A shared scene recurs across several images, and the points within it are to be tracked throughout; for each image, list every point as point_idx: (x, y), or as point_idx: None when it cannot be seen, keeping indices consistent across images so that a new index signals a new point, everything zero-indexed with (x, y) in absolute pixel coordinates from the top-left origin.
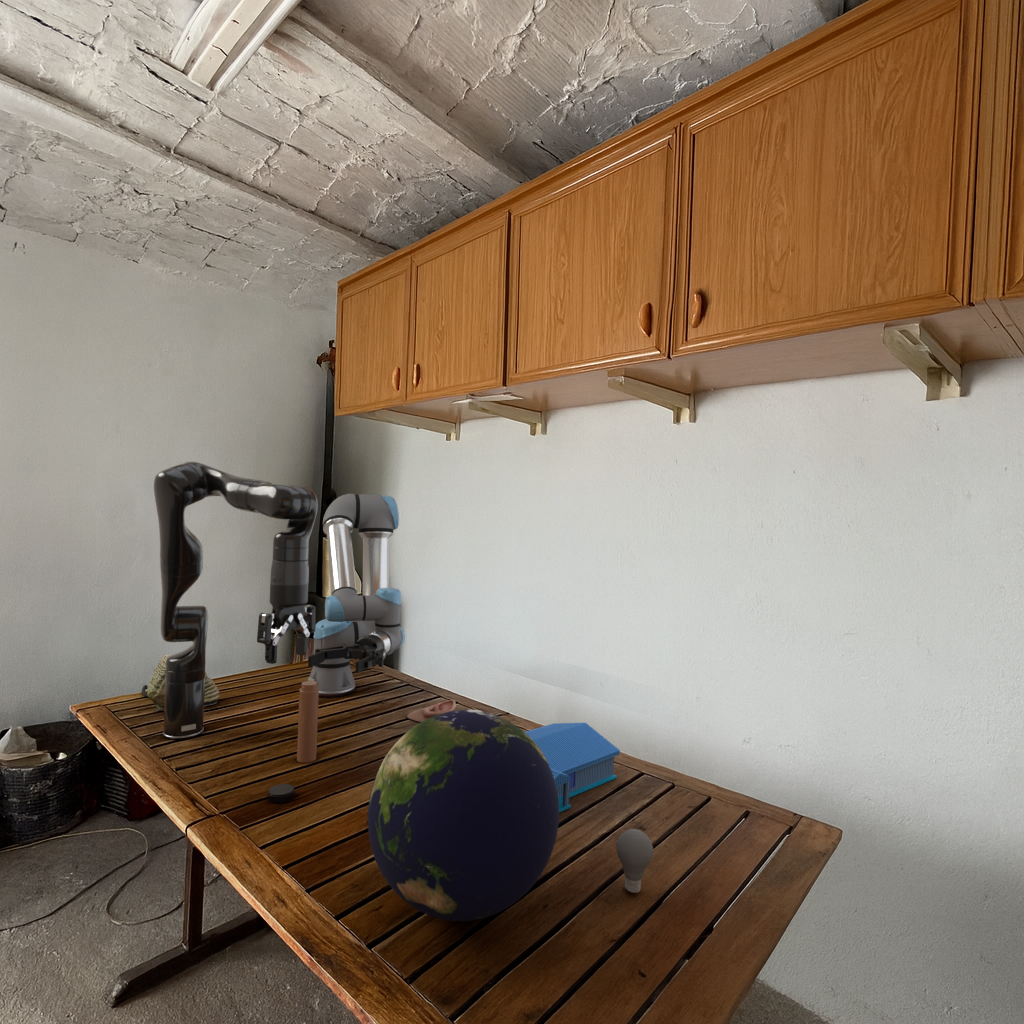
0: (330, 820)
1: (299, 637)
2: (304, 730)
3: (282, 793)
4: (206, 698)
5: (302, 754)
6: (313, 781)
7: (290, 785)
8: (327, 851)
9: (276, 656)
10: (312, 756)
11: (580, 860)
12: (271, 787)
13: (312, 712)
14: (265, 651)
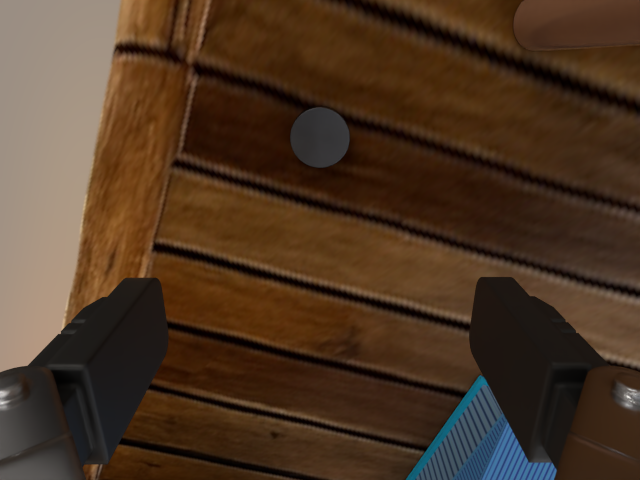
0: (295, 287)
1: (549, 399)
2: (562, 24)
3: (303, 157)
4: None
5: (523, 27)
6: (424, 141)
7: (345, 143)
8: (213, 343)
9: (146, 382)
10: (536, 50)
11: None
12: (315, 108)
13: (616, 41)
14: (49, 347)
